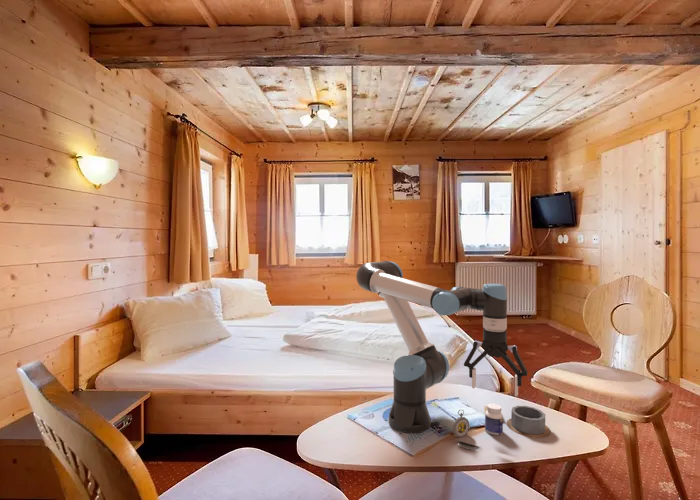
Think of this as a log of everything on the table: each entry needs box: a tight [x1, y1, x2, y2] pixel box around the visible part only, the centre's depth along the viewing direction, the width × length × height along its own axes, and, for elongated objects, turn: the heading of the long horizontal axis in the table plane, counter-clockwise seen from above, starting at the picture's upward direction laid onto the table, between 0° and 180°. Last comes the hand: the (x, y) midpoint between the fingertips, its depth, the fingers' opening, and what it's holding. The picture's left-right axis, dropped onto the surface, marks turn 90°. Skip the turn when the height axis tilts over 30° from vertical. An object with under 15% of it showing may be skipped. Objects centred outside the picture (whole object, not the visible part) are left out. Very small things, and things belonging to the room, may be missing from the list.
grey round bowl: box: [510, 405, 546, 435], centre depth 127 cm, size 10×10×5 cm
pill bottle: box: [484, 402, 504, 437], centre depth 125 cm, size 6×6×10 cm
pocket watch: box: [452, 409, 479, 450], centre depth 120 cm, size 8×8×10 cm
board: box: [505, 418, 552, 439], centre depth 128 cm, size 14×14×1 cm
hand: (494, 391), depth 124 cm, fingers open, 13 cm apart
